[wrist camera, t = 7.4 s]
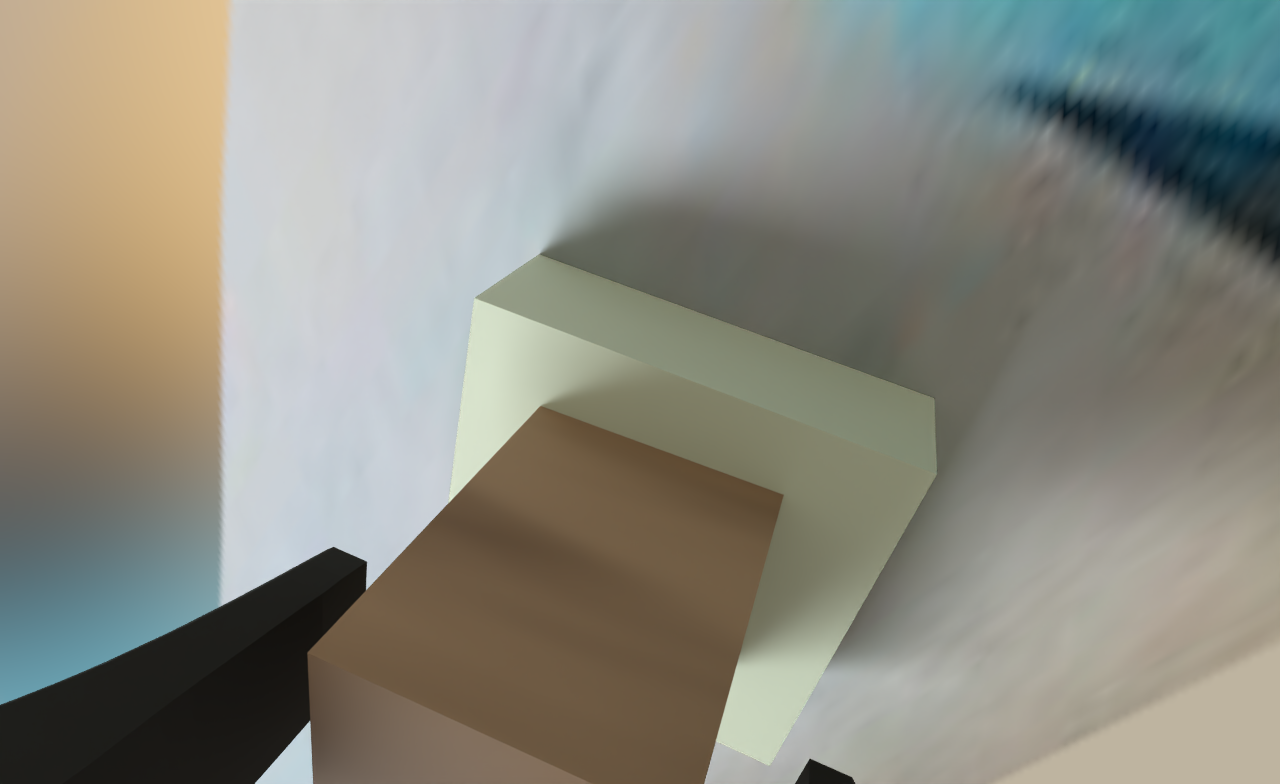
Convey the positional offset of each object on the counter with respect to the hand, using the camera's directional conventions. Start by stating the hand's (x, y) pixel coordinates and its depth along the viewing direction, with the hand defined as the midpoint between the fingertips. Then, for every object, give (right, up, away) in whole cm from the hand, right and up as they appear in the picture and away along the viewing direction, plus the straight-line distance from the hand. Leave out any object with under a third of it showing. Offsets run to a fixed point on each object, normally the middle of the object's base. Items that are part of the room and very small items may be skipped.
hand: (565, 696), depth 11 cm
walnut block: (+1, +2, +3) cm, 3 cm away
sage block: (+2, +3, +5) cm, 6 cm away
